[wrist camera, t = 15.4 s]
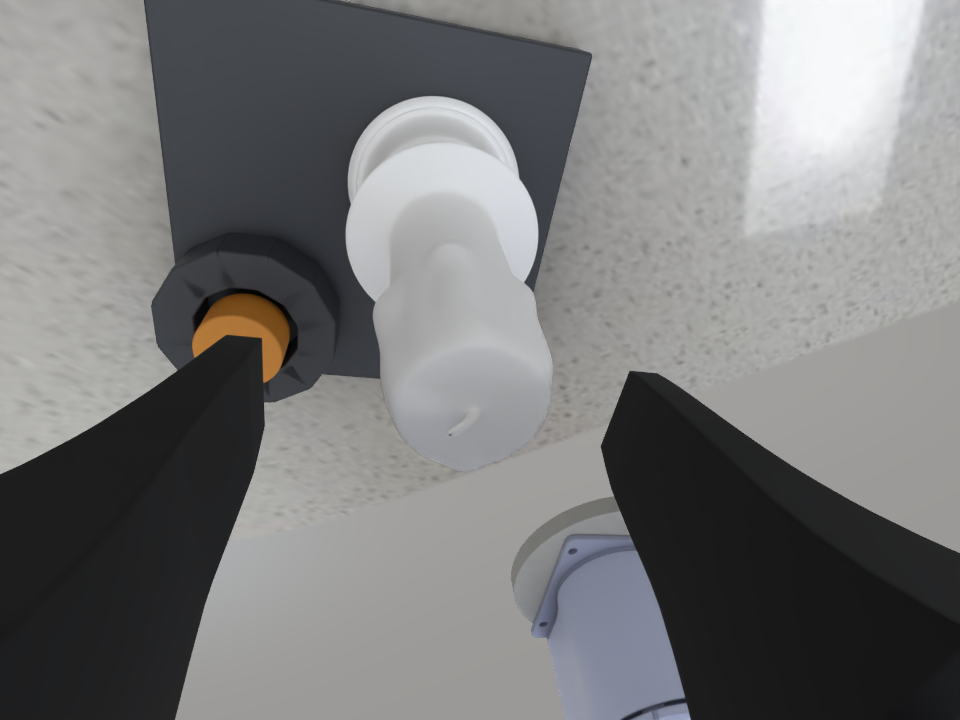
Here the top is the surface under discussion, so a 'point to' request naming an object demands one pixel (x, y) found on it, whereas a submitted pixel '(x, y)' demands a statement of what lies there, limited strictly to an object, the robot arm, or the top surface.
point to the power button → (246, 327)
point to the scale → (318, 153)
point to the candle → (449, 280)
